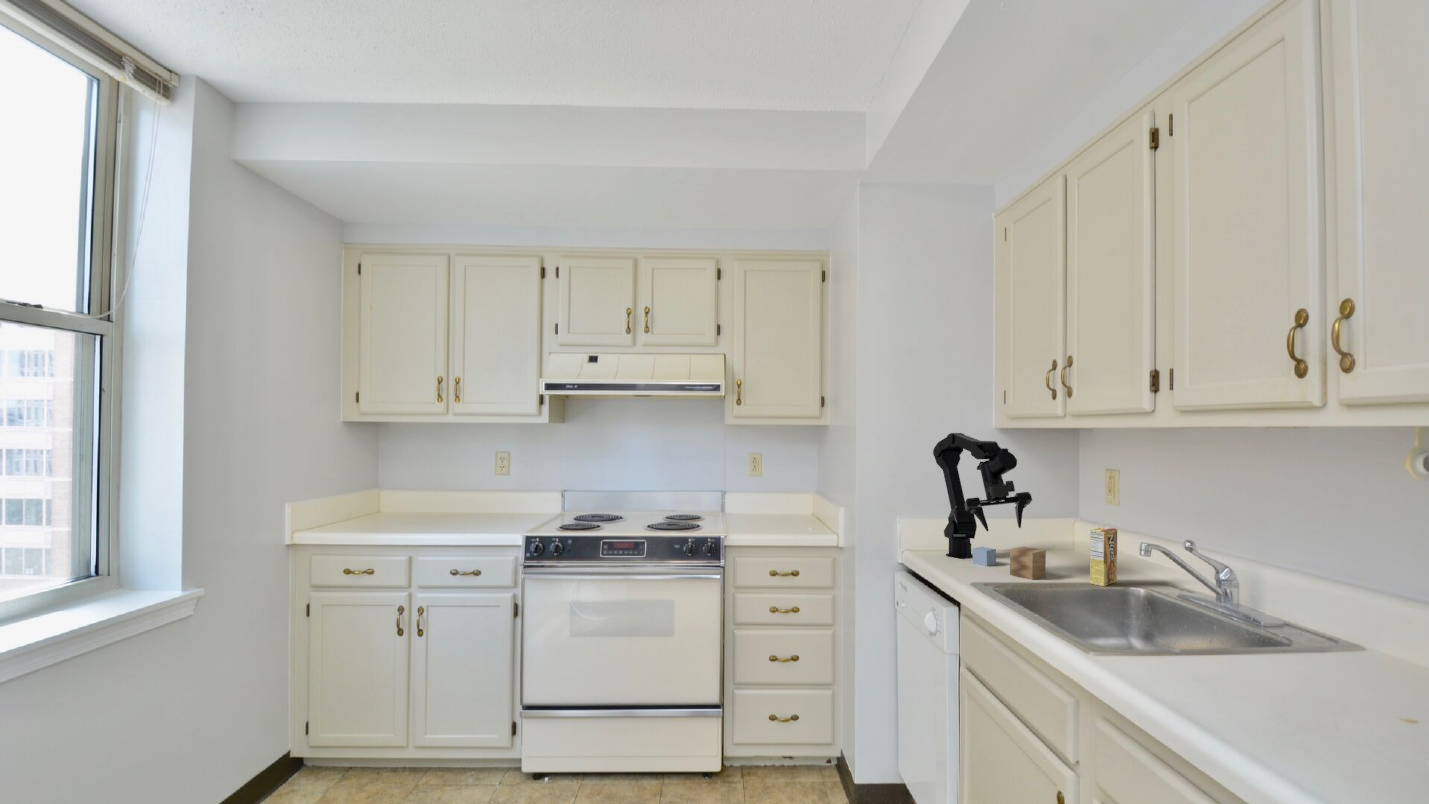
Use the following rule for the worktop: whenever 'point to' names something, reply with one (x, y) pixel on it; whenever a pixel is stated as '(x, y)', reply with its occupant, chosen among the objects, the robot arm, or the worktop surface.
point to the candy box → (1103, 556)
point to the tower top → (1028, 556)
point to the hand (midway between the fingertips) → (1003, 529)
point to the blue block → (984, 556)
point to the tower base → (1027, 571)
